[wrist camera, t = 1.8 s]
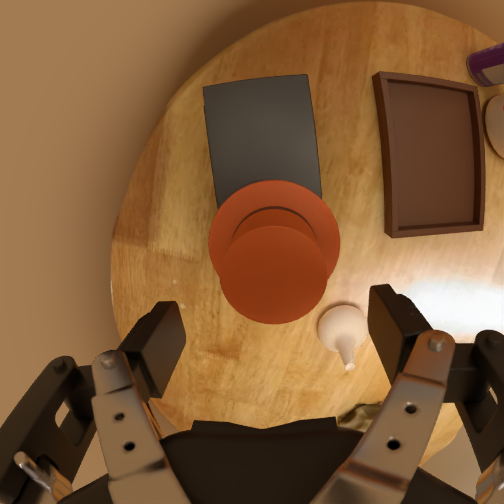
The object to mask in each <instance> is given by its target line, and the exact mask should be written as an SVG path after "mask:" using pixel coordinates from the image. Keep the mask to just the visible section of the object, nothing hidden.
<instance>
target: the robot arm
mask: <svg viewBox="0 0 504 504" xmlns="http://www.w3.org/2000/svg"><path fill="white" fill-rule="evenodd" d="M367 323H368V331H369V334H370V336H371V338H372V341H373V343H374V345H375V348H376V350H377V352H378V355H379V357H380V359H381V362H382V364H383V367H384V369H385V372H386V374H387V376H388V379H389V381H390V384H391V389H390V391H389V393H388V395H387V396H386V398H385V400H384V402H383V404H382V405H381V407H380V409H379V411H378V412H377V414H376V416H375V417H374V419H373V421H372V422H371V424H370V426H369V427H368V429H367V431H366V432H362V431H360V430H356V429H353V428H348V427H342V426H337V423H336V417H327V418H318V419H307V420H299V421H295V422H291V423H287V424H283V425H279V426H275V427H271V428H266V429H258V428H253V427H248V426H243V425H238V424H234V423H230V422H216V421H198V420H194V422H193V425H192V428H191V430H186V431H181V432H178V433H175V434H172V435H169V436H167V437H165V436H164V434H163V432H162V430H161V429H160V426H159V424H158V422H157V420H156V418H155V416H154V413H153V411H152V409H151V407H150V405H149V403H148V401H149V399H150V397H152V398H162V396H163V394H164V392H165V389H166V387H167V385H168V382H169V380H170V378H171V376H172V373H173V371H174V369H175V367H176V364H177V362H178V360H179V358H180V355H181V353H182V351H183V349H184V346H185V343H186V333H185V329H184V325H183V322H182V318H181V315H180V311H179V307H178V304H177V303H176V301H159V302H157V304H156V305H155V306H154V308H153V309H152V310H151V312H150V313H147V314H146V315H144V316H143V317H141V318H140V319H139V320H138V321H137V323H136V324H135V325H134V327H133V328H132V329H131V331H130V333H128V335H127V336H126V338H125V339H124V340H123V342H122V343H121V344H120V346H119V347H118V349H117V350H109V351H106V352H103V353H101V354H100V355H98V356H97V357H96V358H95V359H94V360H93V362H92V365H88V366H80V367H78V366H77V364H76V362H75V361H74V359H73V358H72V357H70V356H61V357H58V358H56V359H54V360H52V361H51V362H50V363H49V364H48V365H47V366H46V368H45V369H44V370H43V371H42V373H41V374H40V375H39V377H38V378H37V379H36V380H35V381H34V383H33V384H32V385H31V387H30V388H29V389H28V391H27V392H26V393H25V395H24V396H23V397H22V399H21V400H20V401H19V403H18V404H17V406H16V407H15V408H14V410H13V411H12V412H11V414H10V415H9V416H8V418H7V419H6V421H5V422H4V424H3V425H2V426H1V428H0V504H504V335H503V334H501V333H500V332H497V331H494V330H483V331H481V332H479V333H478V334H477V335H476V338H475V341H474V343H455V340H454V339H453V337H452V336H451V335H449V334H448V333H446V332H444V331H440V330H433V328H432V327H431V326H430V324H429V323H428V322H427V320H426V319H425V318H424V316H423V315H422V314H421V313H420V311H419V310H418V308H417V307H416V306H415V305H414V303H413V302H412V301H411V300H410V299H409V298H407V297H406V296H404V295H402V294H396V293H395V291H394V290H393V289H392V287H391V286H390V285H389V284H382V285H374V286H371V287H370V291H369V306H368V319H367ZM491 387H492V389H493V391H494V393H495V394H496V396H497V401H498V404H496V402H495V400H494V398H493V396H492V395H491V393H490V391H489V390H490V388H491ZM63 401H64V402H65V404H66V406H67V407H68V408H69V412H68V414H67V416H66V417H65V419H64V420H63V422H62V424H61V426H60V427H58V426H57V424H56V422H55V415H56V412H57V411H58V409H59V407H60V406H61V404H62V403H63ZM442 403H455V406H456V408H457V410H458V413H459V415H460V417H461V420H462V422H463V424H464V427H465V429H466V432H467V434H468V437H469V439H470V442H471V444H472V447H473V450H474V453H475V455H476V458H477V461H478V464H479V467H480V470H481V473H482V474H481V475H480V477H479V479H478V481H477V485H476V495H475V500H474V499H473V498H472V497H470V496H468V495H466V494H464V493H462V492H461V491H459V490H457V489H455V488H454V487H452V486H450V485H448V484H447V483H445V482H443V481H441V480H440V479H438V478H436V477H435V476H433V475H431V474H430V473H428V472H426V471H425V470H423V469H421V468H420V467H418V465H419V463H420V461H421V458H422V456H423V454H424V452H425V449H426V447H427V444H428V442H429V439H430V437H431V434H432V432H433V429H434V426H435V424H436V421H437V418H438V415H439V412H440V409H441V406H442ZM96 430H97V432H98V436H99V441H100V444H101V449H102V452H103V456H104V460H105V463H106V467H107V470H108V473H107V474H105V475H103V476H102V477H100V478H99V479H96V480H95V481H93V482H91V483H89V484H88V485H86V486H84V487H82V488H80V489H78V490H76V491H74V492H72V491H73V490H72V483H73V480H74V478H75V476H76V474H77V471H78V469H79V467H80V465H81V462H82V460H83V458H84V456H85V453H86V451H87V449H88V447H89V445H90V443H91V441H92V439H93V437H94V434H95V432H96Z"/></svg>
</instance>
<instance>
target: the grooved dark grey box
mask: <svg viewBox="0 0 504 504" xmlns="http://www.w3.org/2000/svg"><path fill="white" fill-rule="evenodd" d="M203 96H204V104H205V105H204V114H205V121H206V129H207V137H208V144H209V152H210V159H211V166H212V173H213V180H214V187H215V194H216V201H217V208H218V210H219V208H220V207H221V206H222V204H223V203H224V202H225V201H226V200H227V199H228V198H229V197H230V196H231V195H232V194H234V193H235V192H236V191H238V190H239V189H241V188H243V187H245V186H247V185H249V184H252V183H255V182H258V181H264V180H286V181H290V182H294V183H297V184H299V185H302V186H304V187H306V188H308V189H309V190H311V191H312V192H314V193H315V194H316V195H318V196H319V197H320V198H321V199H322V192H321V180H320V169H319V159H318V149H317V140H316V131H315V123H314V115H313V108H312V101H311V94H310V87H309V81H308V75H307V74H300V75H285V76H274V77H264V78H255V79H248V80H240V81H234V82H228V83H222V84H216V85H211V86H205V87H203Z"/></svg>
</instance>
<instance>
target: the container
mask: <svg viewBox="0 0 504 504" xmlns="http://www.w3.org/2000/svg"><path fill="white" fill-rule="evenodd" d="M467 68H468V71H469V73H470V75H471V77H472V78H473V80H474V81H475V82H476V83H477V84H479V85H480V86H483V87H487V86H493V85H499V84H504V43H501V44H498V45H495V46H492V47H490V48H487V49H484V50H481V51H479V52H476V53H473V54H471V55H469V56H468V58H467Z"/></svg>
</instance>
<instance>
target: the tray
mask: <svg viewBox="0 0 504 504" xmlns="http://www.w3.org/2000/svg"><path fill="white" fill-rule="evenodd" d="M372 78H373V84H374V90H375V96H376V103H377V110H378V118H379V126H380V135H381V146H382V158H383V174H384V198H385V233H386V234H387V235H388V236H390V237H391V238H403V237H414V236H426V235H437V234H449V233H460V232H471V231H483V224H484V212H485V147H484V134H483V124H482V115H481V108H480V101H479V95H478V89H477V87H476V86H472V85H468V84H463V83H459V82H454V81H449V80H444V79H438V78H432V77H426V76H419V75H411V74H403V73H393V72H380V71H379V72H378V73H376V74H375V75H373V76H372Z"/></svg>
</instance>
